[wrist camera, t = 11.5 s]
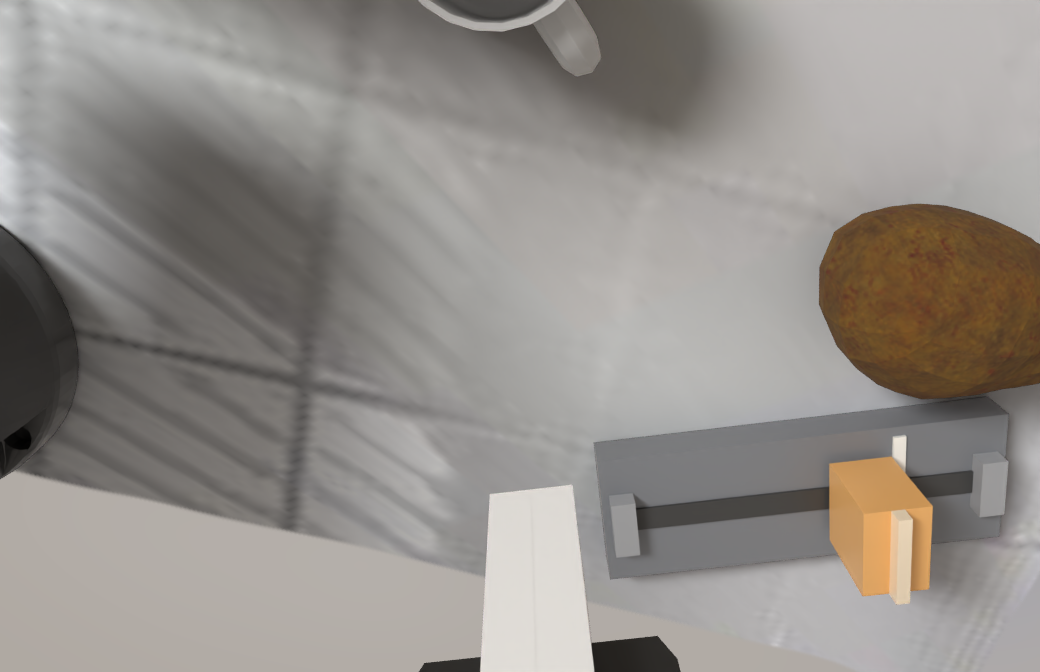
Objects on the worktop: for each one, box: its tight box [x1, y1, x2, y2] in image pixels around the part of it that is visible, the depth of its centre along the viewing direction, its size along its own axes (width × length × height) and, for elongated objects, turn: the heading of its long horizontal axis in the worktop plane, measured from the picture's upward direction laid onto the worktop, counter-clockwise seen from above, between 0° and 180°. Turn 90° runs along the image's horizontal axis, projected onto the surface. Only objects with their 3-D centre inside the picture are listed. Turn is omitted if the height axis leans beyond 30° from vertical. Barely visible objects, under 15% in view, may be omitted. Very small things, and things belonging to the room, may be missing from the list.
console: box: [594, 397, 1009, 579], centre depth 44 cm, size 20×7×3 cm, turn 97°
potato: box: [819, 204, 1040, 399], centre depth 38 cm, size 8×12×9 cm
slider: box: [829, 457, 933, 605], centre depth 41 cm, size 3×4×5 cm
